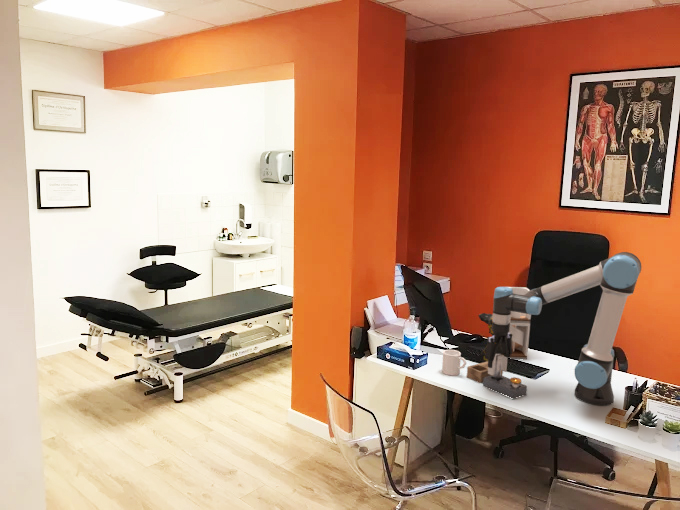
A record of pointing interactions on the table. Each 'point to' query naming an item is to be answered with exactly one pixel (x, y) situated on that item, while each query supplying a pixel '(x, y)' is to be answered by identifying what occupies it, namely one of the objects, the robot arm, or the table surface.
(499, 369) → the bit
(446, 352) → the mug
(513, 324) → the display case
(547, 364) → the table surface
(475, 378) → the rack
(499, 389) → the socket
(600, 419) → the table surface
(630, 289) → the robot arm
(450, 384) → the table surface
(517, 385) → the orange mushroom knob
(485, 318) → the power drill
